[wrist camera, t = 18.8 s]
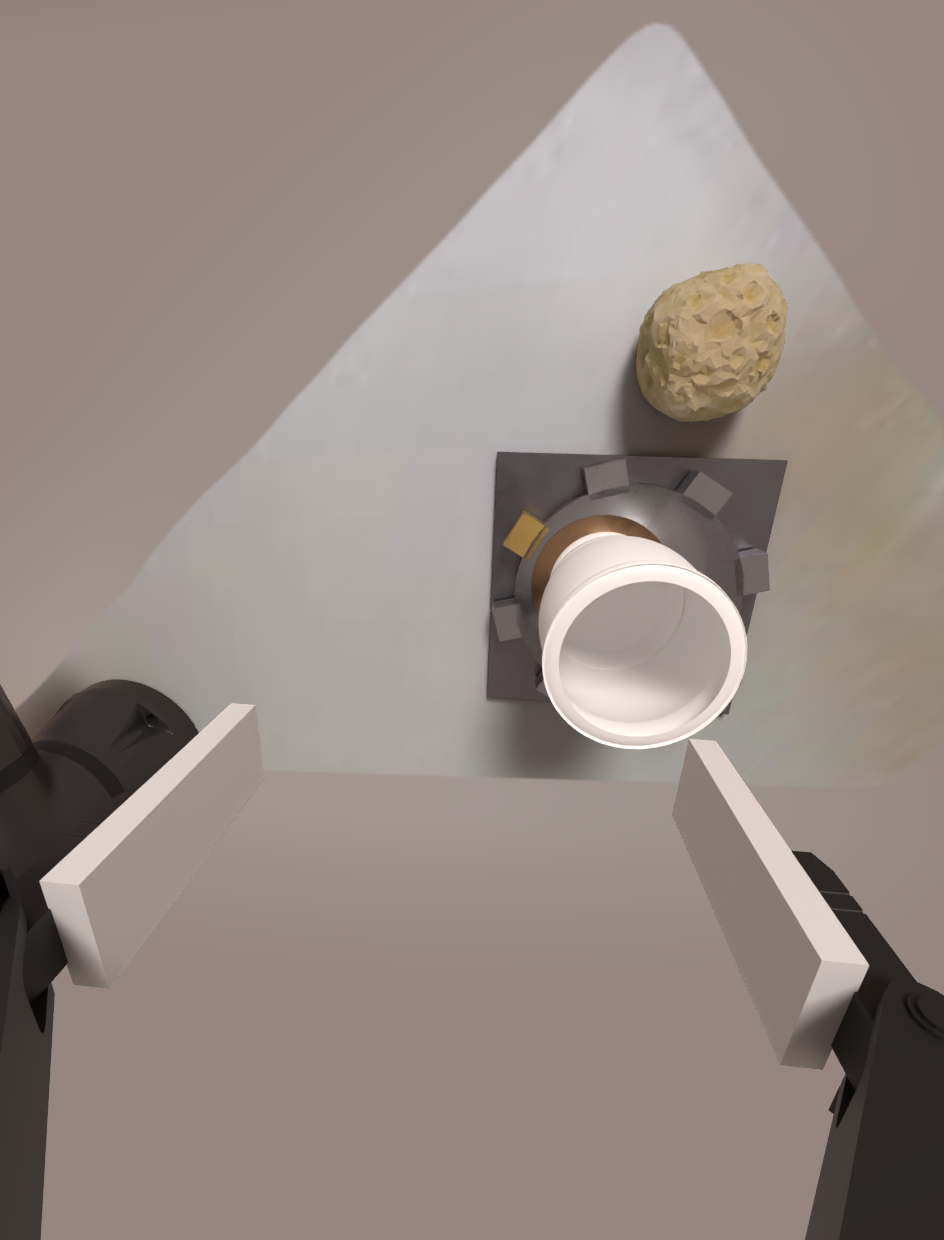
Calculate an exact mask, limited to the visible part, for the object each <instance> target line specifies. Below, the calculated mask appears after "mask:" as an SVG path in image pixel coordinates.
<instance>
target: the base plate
mask: <svg viewBox="0 0 944 1240" xmlns="http://www.w3.org/2000/svg"><path fill="white" fill-rule="evenodd" d="M620 458H622V459H625V460H626V467H627V474H628V481H629V483H639V484H650V485H655V486H659V487H663V488H667V489H670V490H673V491H675V492H676V490H677V489H678V487H679V486H680V485H681V483H682V482H683V481H684V479H685V478H686V477H687V475H688V474H689V473H690V471H691V470H696V471H701V472H702V473H704V474H705V475H707V476H708V477H709V478H711V479H712V480H714V481H715V482H717V483H718V484H720V485H721V486H723V487H724V488H726V489H727V490H729V491H730V492H732V493H733V494H732V495H731V497H730V498H729V499H728V501H727V502H726V503H725V504H724V506H723V507H722V508H721V509H720V511H719V512H718V513H717V514H716V517H717V518H718V519H719V521H720V522H721V523H722V524H723V525H724V527H725V528H726V529H727V531H728V532H729V534H730V535H731V537H732V539H733V541H734V543H735V545H736V547H737V549H738V552H740V551H744V550H749V549H754V548H757V549H759V550H761V551H763V552H765V553H766V551H767V547H768V542H769V538H770V534H771V530H772V525H773V521H774V517H775V512H776V508H777V504H778V500H779V495H780V491H781V487H782V482H783V478H784V474H785V469H786V465H787V461H786V460H758V459H724V458H690V457H656V456H622V455H588V454H554V453H520V452H497V474H496V498H495V522H494V547H493V571H492V596H491V620H490V644H489V669H488V693H487V697H497V698H510V699H524V700H538V701H551V700H550V698H549V697H548V696H546V695H544V694H543V693H541V692H539V691H538V690H536V683H535V679H536V678H537V676H538V675H539V674H540V672H541V671H542V667H541V666H540V665H539V663H538V662H537V661H536V660H535V659H534V657H533V656H532V655H531V653H530V651H529V650H528V648H527V647H526V645H525V643H524V641H523V638H522V637H521V638H516V639H510V640H505V641H499V637H498V633H497V629H496V625H495V620H494V616H493V612H492V605H493V602H495V601H500V600H504V599H509V598H514V592H515V582H516V574H517V570H518V567H519V563H520V560H521V556H520V555H518V554H517V553H515V552H513V551H512V550H510V549H509V548H507V547H505V546H504V545H503V542H504V539H505V538H506V536H507V535H508V533H509V532H510V530H511V528H512V527H513V525H514V524H515V522H516V521H517V519H518V517H519V516H520V514H521V513H522V511H523V510H525V511H527V512H529V513H530V514H532V515H533V516H535V517H536V518H538V519H540V520H541V521H543V522H544V521H545V520H546V519H547V518H548V517H549V516H550V515H551V514H552V513H553V512H555V511H556V510H557V509H558V508H560V507H561V506H562V505H564V504H565V503H567V502H569V501H570V500H572V499H574V498H575V497H577V496H579V495H582V494H584V493H586V491H585V485H584V479H583V473H582V468H583V467H587V466H591V465H595V464H599V463H604V462H608V461H612V460H616V459H620ZM756 594H757V593H753V594H748V595H743V600H742V606H741V610H740V613H739V614H740V616H741V618H742V621H743V624H744V627H745V631H746V637H747V633H748V628H749V624H750V620H751V615H752V611H753V607H754V603H755V598H756ZM731 701H732V699H731ZM731 701H730V702H729V704H728V705H727V706H726V707H725V709H724V710H723V711H722V712H721V713H720V714H729V710H730V706H731Z"/></svg>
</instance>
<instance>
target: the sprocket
mask: <svg viewBox="0 0 944 1240" xmlns="http://www.w3.org/2000/svg"><path fill="white" fill-rule="evenodd" d="M582 473H583V479H584V485H585V491H586V493H584V494H582V495H579V496H577V497H575V498H574V499H572V500H570V501H569V502H567V503H565V504H564V505H562V506H561V507H560V508H558V509H557V510H556V511H555V512H553V513H552V514H551V515H550V516H549V517H548V518H547V519H546V520H545V521H544V522H543V521H541V520H540V519H538V518H536V517H535V516H533V515H532V514H530V513H529V512H527V511H525V510H523V511H522V513H521V514H520V516H519V517H518V519H517V521H516V522H515V524H514V525H513V527H512V528H511V530H510V532H509V533H508V535H507V536H506V538H505V539H504V542H503V545H504V546H505V547H507V548H509V549H510V550H512V551H513V552H515V553H517V554H518V555H520V556H521V560H520V563H519V567H518V570H517V574H516V582H515V592H514V598H509V599H504V600H500V601H495V602H493V605H492V612H493V616H494V620H495V625H496V629H497V633H498V637H499V641H505V640H510V639H516V638H521V637H522V638H523V641H524V643H525V645H526V647H527V648H528V650H529V651H530V653H531V655H532V656H533V657H534V659H535V660H536V661H537V662H538V663H539V665H540V666H541V667H542V648H541V643H540V637H539V611H540V605H541V600H542V597H543V593H544V591H545V588H546V586H547V584H548V582H549V579H550V575H551V571H552V569H553V566H554V564H555V562H556V560H557V559H558V557H559V556H560V555H561V553H562V552H563V551H564V550H565V549H566V548H567V547H568V546H569V545H571V544H572V543H573V542H575V541H576V540H578V539H580V538H582V537H584V536H587V535H589V534H593V533H598V532H615V533H620V534H623V535H626V536H634V537H640V538H645V539H648V540H652V541H655V542H657V543H660V544H662V545H664V546H666V547H668V548H670V549H672V550H673V551H675V552H676V553H678V554H679V555H681V556H682V557H683V558H684V559H686V560H687V561H688V562H689V563H690V564H691V565H692V566H693V567H694V568H695V569H696V570H697V571H699V572H700V573H702V574H704V575H705V576H707V577H709V578H710V579H711V580H713V581H714V582H715V583H716V584H717V585H718V586H719V587H720V588H721V589H722V590H723V591H724V592H725V593H726V594H727V595H728V597H729V598H730V599H731V601H732V602H733V603H734V605H735V607H736V608H737V610H738V612H739V613H740V610H741V606H742V600H743V595H748V594H753V593H759V592H764V591H769V590H770V588H769V571H768V554H767V553H765V552H763V551H761V550H759V549H757V548H754V549H749V550H744V551H740V552H738V549H737V547H736V545H735V543H734V541H733V539H732V537H731V535H730V534H729V532H728V531H727V529H726V528H725V527H724V525H723V524H722V523H721V522H720V521H719V519H718V518H717V517H716V514H717V513H718V512H719V511H720V509H721V508H722V507H723V506H724V504H725V503H726V502H727V501H728V499H729V498H730V497H731V495H732V494H733V493H732V492H730V491H729V490H727V489H726V488H724V487H723V486H721V485H720V484H718V483H717V482H715V481H714V480H712V479H711V478H709V477H708V476H707V475H705V474H704V473H702V472H701V471H696V470H691V471H690V473H689V474H688V475H687V477H686V478H685V479H684V481H683V482H682V483H681V485H680V486H679V487H678V489H677V490H676V492H675V491H673V490H670V489H667V488H663V487H659V486H655V485H650V484H639V483H629V481H628V474H627V467H626V460H625V459H622V458H620V459H616V460H612V461H608V462H604V463H599V464H595V465H591V466H587V467H583V468H582ZM741 682H742V680H741ZM741 682H740V684H741ZM535 683H536V690H538V691H539V692H541V693H543V694H544V695H546V696H548V697H549V695H548V693H547V690H546V687H545V683H544V679H543V671H541V672H540V674H539V675H538V676H537V678H536V679H535ZM739 686H740V685H739Z"/></svg>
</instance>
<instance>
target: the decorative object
mask: <svg viewBox="0 0 944 1240" xmlns="http://www.w3.org/2000/svg"><path fill="white" fill-rule="evenodd" d="M787 310H788V307H787V303H786V301H785V299H784V297H783V295H782V292H781V289H780V287H779V286H778V285H777V284H776V283H775V282H774V281H772V280H771V279H770V277H769V275H768V271H767V269H765V267H764V266H763V265H761V264H753V263H747V264H743V265H741V264H736V265H735V266H734V267H732V268H724V269H721V270H716V271H707V272H700V274H699V275H698V276H696V277H693V278H691V279H688V280H686V281H684V282H682V283H677V284H674V285H672V286H671V287H670V288H669V289H667V290H666V291H664V292H663V293H662V295H661V296H659V297H658V299H657V300H656V301H655V302H654V304H653V306H652V307H651V308H650V309H649V310H648V312H647V314H646V315H645V318H644V321H643V323H642V324H641V327H640V336H639V342H638V344H637V358H636V366H637V380H638V382H639V385H640V388H641V391H642V394H643V396H644V398H645V400H647V401H648V402H649V403H650V405H651V406H652V407H654V408H655V409H656V410H658V411H660V412H661V413H663V414H664V415H667V416H668V417H670V418H673V419H674V420H677V421H682V422H696V421H705V422H707V421H709V420H710V419H713V418H720V417H722V416H725V415H728V414H730V413H734V412H737V411H739V410H741V409H742V408H745V407H746V406H747V405H748V404H749V403H751V402H752V401H753V400H754V398H755V397H756V396H757V395H758V394H759V393H760V392H762V391H764V390H766V385H767V383H768V382H769V381H770V380H771V378H772V377H773V376H774V374H775V372H776V369H777V365H778V362H779V359H780V356H781V353H782V350H783V347H784V344H785V331H784V328H785V325H786V314H787Z"/></svg>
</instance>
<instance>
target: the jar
mask: <svg viewBox="0 0 944 1240" xmlns="http://www.w3.org/2000/svg"><path fill="white" fill-rule="evenodd" d="M539 637H540V643H541V648H542V671H543V679H544V683H545V687H546V690H547V693H548V695H549V698H550V700H551V702H552V704H553V705H554V707H555V708H556V710H557V711H558V713H559V714H560V715H561V716H562V718H563V719H564V720H565V721H566V722H567V723H568V724H569V725H570V726H572V727H573V728H574V729H575V730H577V731H578V732H580V733H581V734H583V735H584V736H586V737H588V738H590V739H592V740H594V741H597V742H599V743H602V744H605V745H609V746H613V747H618V748H625V749H648V748H655V747H660V746H665V745H668V744H672V743H675V742H677V741H680V740H682V739H685V738H687V737H689V736H691V735H693V734H694V733H696V732H698V731H699V730H701V729H702V728H704V727H705V726H707V725H708V724H709V723H710V722H712V721H713V720H714V719H715V718H716V717H717V716H718V715H719V714H720V713H721V712H722V711H723V710H724V709H725V707H726V706H727V705H728V704H729V702H730V701H731V699H732V698H733V696H734V695H735V693H736V691H737V689H738V687H739V685H740V682H741V680H742V677H743V674H744V671H745V666H746V661H747V637H746V631H745V627H744V624H743V621H742V618H741V616H740V614H739V612H738V610H737V608H736V607H735V605H734V603H733V602H732V601H731V599H730V598H729V597H728V595H727V594H726V593H725V592H724V591H723V590H722V589H721V588H720V587H719V586H718V585H717V584H716V583H715V582H714V581H713V580H711V579H710V578H709V577H707V576H705V575H704V574H702V573H700V572H699V571H697V570H696V569H695V568H694V567H693V566H692V565H691V564H690V563H689V562H688V561H687V560H686V559H684V558H683V557H682V556H681V555H679V554H678V553H676V552H675V551H673V550H672V549H670V548H668V547H666V546H664V545H662V544H660V543H657V542H655V541H652V540H648V539H645V538H640V537H634V536H626V535H623V534H620V533H615V532H598V533H593V534H589V535H587V536H584V537H582V538H580V539H578V540H576V541H575V542H573V543H572V544H571V545H569V546H568V547H567V548H566V549H565V550H564V551H563V552H562V553H561V555H560V556H559V557H558V559H557V560H556V562H555V564H554V566H553V569H552V571H551V575H550V579H549V582H548V584H547V586H546V588H545V591H544V593H543V597H542V600H541V605H540V611H539Z"/></svg>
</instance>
